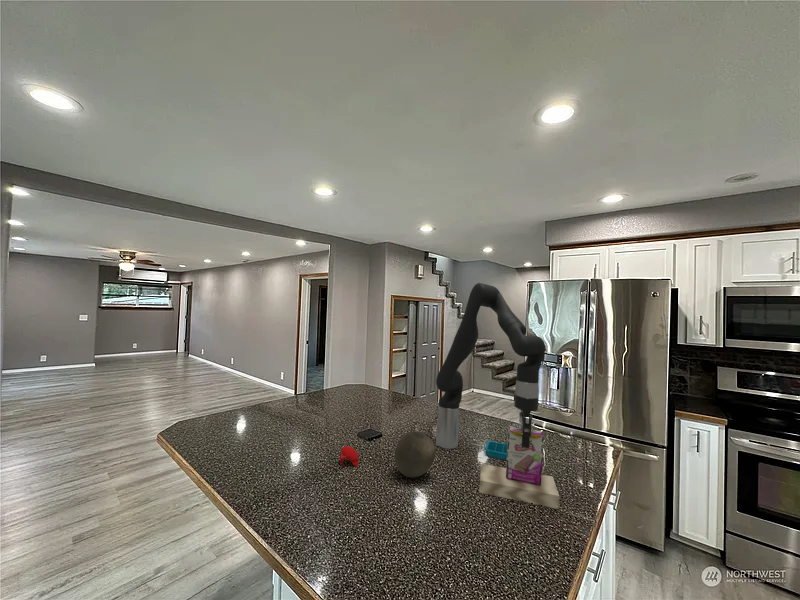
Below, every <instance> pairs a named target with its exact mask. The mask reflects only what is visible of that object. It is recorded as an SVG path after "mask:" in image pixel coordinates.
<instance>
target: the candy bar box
mask: <svg viewBox="0 0 800 600" xmlns="http://www.w3.org/2000/svg"><path fill="white" fill-rule="evenodd" d="M524 432H528V430H527V429H525V431H524ZM507 444H508V445H507V460H506V465H505V468H506V479H511V480H516V481H521V482H526V483H530V484H535V485H540V486H541V477H542V475H543V474H542V473H543V453H544V434H543V431H541V430H536V429H531V437H530V440H529V448H523V447H522V429H521V427H517V426H516V427H515V426H511V425H508V427H507Z"/></svg>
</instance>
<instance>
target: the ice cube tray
mask: <svg viewBox="0 0 800 600" xmlns="http://www.w3.org/2000/svg"><path fill="white" fill-rule="evenodd" d="M507 445H508V443H504V442H498V441H493V440H488V441H486V444H485V447H484V450H485V451H486V456H487V455H488V456H487V457H490V458H495V459H498V460H499V459H501V460H505V461H507Z"/></svg>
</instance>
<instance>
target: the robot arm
mask: <svg viewBox="0 0 800 600" xmlns="http://www.w3.org/2000/svg"><path fill="white" fill-rule="evenodd" d="M481 307H484V308H490V309H491V310H492V311H493V312H495V314H496V316H497V323H498V326H499V327H500V329H501V330H502V331H503V332H504V333H505V335H506V337H507V338H508V341H509V342H510V345H511V348H512V350H513V352H514V353H515V354H517V355H518V356H520V357H526V359H525V361H524V362H520V363H519V364H518V365H517V367H516V381H515V388H514V389H515V391H514V407H515V408H516V409H518V410H520V411H519V413H518V419H519V420H518V421H519V426H520V427H519V428H521V429H522V447H523V448H529V440H530V437H531V430H533V427H532V426H533V423H532V422H533V414H532V413H531V412H537V411H538V410H539V401H540V400H539V399H540V398H539V396H540V395H539V394H540V387H539V386H540V384H539V382H540V381H539V380H540V378H539V377H540V370H541V369H540V368H541V366H542V364H543V360H544V357H545V354H546V343H545V342H544V340H543V338H542V337H540V336H536V335H527V328H526V326H525V325H524V323H523V321H521V320H520V319H519V318H518V317H517V315H516V314H515V313H514V312H513V310H511V307H510V306H509V305H508V303H507V302H506V300H505V299H504V297H503V295H502V293H501V292H500V290H499V289H498V288H497V287H496V286H494V285H491V284H488V283H487V284H486V283H482V282H477V283H476V284H475V285H474V286H473V287H472V288H471V290H470V293H469V297H468V299H467V303H466V306H465V309H464V310H465V311H464V313H463V316H462V319H461V321H460V324H459V326H458V329H457V330H456V333H455V336H454V338H453V340H452V344H451V346H450V349H449V351H448V353H447V356H446V358H445V360H444V362H443V364H442V366H441V367H440V369H439V371H438V373H437V376H436V380H435V382H436V387H437V389H438V390H439V391H440V392H443V393H444V394H443V395H442V396H441V397H440V398H439V400H438V410H437V411H438V413H437V415H438V416H437V423H436V431H435V434H436V436H435V446H436V447H437V446H438V447H440V448H443V449H446V450H449V449H450V450H451V449H453V450H454V449H456V448H458V442H459V441H458V439H459V438H458V437H459V422H460V421H459V419H460V403H461V402H462V398H463V397H462V396H463V387H464V379H463V376H462V374H461V372H460V371H459V367H460V366H461V364H462V363H464V361H466V359H467V358H468V357H469V356H470V355H471V354H472V352H473V351H474V349H475V346H476V344H477V342H478V339H479V327H478V322H477V321H478V320H477V318H478V314H479V311H480V308H481ZM525 429H527V430H528V432H524V431H525Z"/></svg>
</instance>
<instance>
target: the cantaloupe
mask: <svg viewBox="0 0 800 600" xmlns="http://www.w3.org/2000/svg"><path fill="white" fill-rule="evenodd" d="M436 453H437V452H436V446H435V444H434V442H433V440H432V439H431V438H430V437H429V436H428V435H427V434H425V433H423V432H421V431H417V430H415V431H409V432H407V433H405V434H404V435H403V436H402V437H401V438H400V439H399V440H398V442H397V445H396V447H395V450H394V461H395V465H396V468H397V470H398V471H399V472H400V473H401V474H402V475H403V476H405V477H407V478H413V479H414V478H418V477H421V476H423V475H424V474H425V473H427V472H428V471H429V470H430V469H431V468H432V465H433V464H434V461H435V458H436Z"/></svg>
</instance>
